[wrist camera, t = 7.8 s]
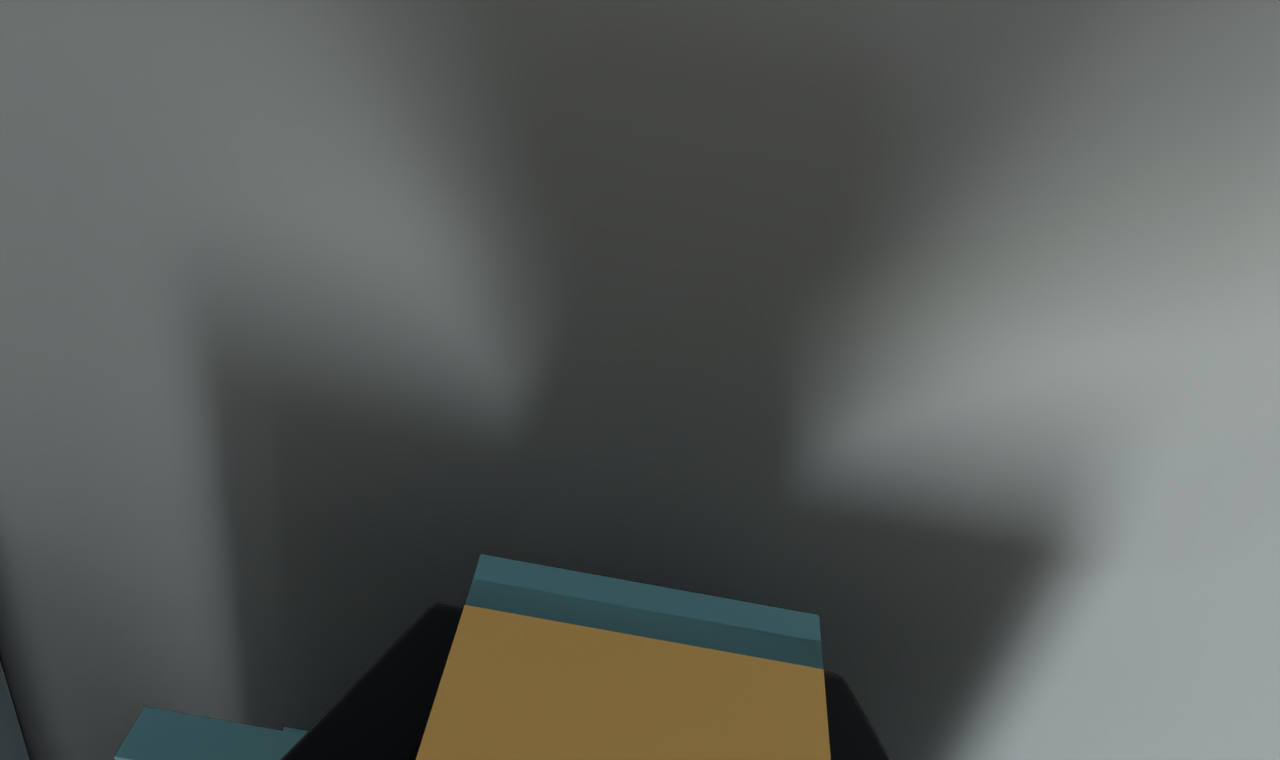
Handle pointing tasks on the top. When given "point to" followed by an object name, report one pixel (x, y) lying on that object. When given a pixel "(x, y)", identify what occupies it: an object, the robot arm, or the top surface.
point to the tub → (9, 726)
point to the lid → (584, 680)
